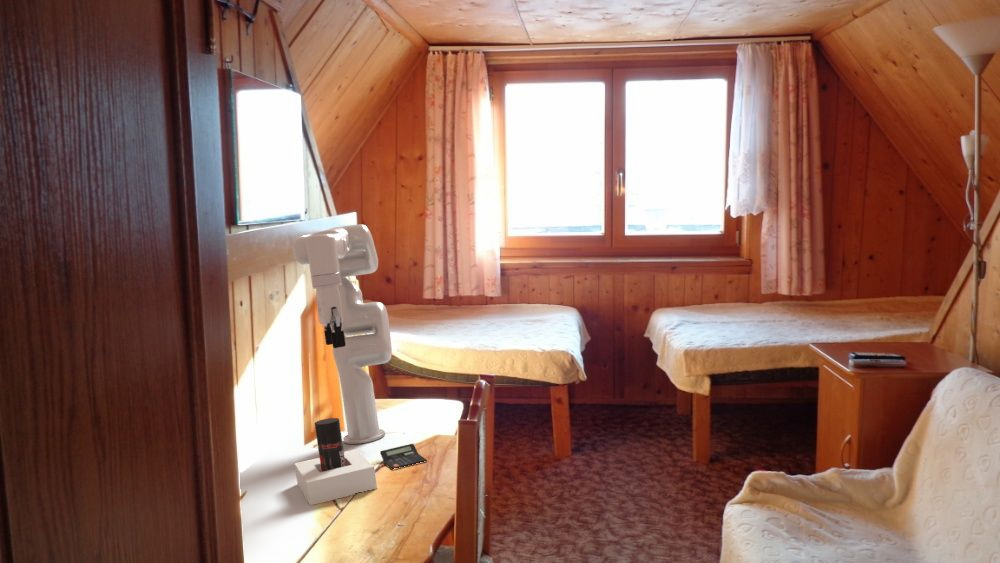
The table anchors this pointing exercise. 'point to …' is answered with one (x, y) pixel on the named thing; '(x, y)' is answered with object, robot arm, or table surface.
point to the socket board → (335, 478)
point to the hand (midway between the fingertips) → (335, 345)
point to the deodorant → (330, 444)
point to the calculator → (401, 456)
